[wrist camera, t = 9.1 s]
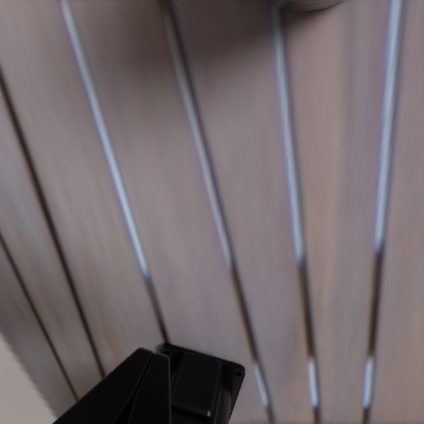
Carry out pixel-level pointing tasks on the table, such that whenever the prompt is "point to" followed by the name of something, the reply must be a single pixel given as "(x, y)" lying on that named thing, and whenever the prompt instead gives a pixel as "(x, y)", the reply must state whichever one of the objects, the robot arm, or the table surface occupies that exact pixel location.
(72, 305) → the table surface
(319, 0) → the supplement bottle
